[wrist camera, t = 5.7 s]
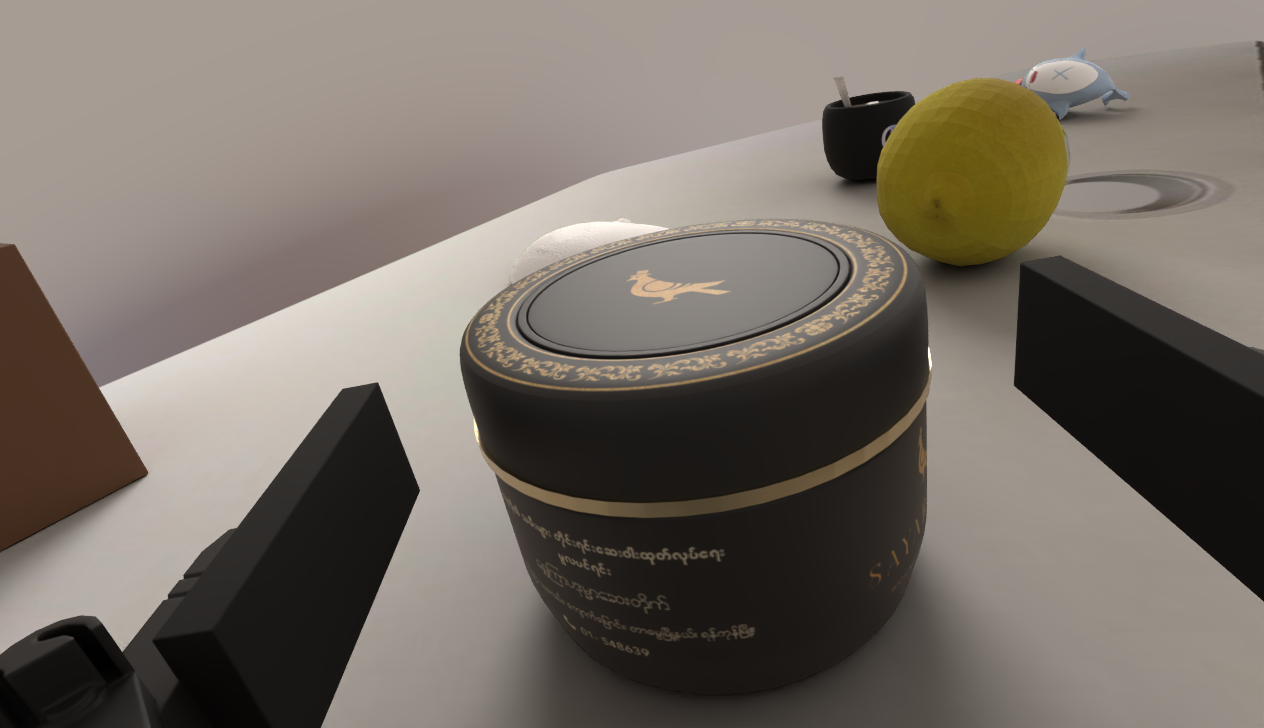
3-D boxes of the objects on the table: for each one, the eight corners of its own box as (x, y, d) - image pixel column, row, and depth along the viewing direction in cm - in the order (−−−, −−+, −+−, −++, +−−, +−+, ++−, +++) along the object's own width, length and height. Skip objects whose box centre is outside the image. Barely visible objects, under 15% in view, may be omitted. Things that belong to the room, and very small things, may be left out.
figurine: (1132, 98, 55) (1122, 102, 52) (1024, 130, 61) (1009, 135, 58) (1121, 34, 55) (1110, 34, 52) (1013, 73, 60) (997, 75, 57)
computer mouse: (686, 228, 47) (680, 194, 46) (567, 296, 39) (557, 257, 38) (611, 227, 51) (604, 196, 50) (490, 288, 44) (480, 252, 43)
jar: (907, 798, 12) (896, 419, 9) (457, 664, 17) (340, 383, 13) (945, 464, 20) (947, 199, 17) (633, 436, 24) (586, 224, 21)
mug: (885, 191, 46) (881, 72, 43) (807, 188, 51) (798, 81, 48) (970, 147, 53) (972, 41, 50) (893, 148, 58) (891, 51, 54)
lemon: (1023, 305, 28) (1035, 94, 24) (841, 287, 33) (830, 112, 30) (1092, 222, 34) (1108, 47, 31) (931, 218, 40) (931, 68, 36)
